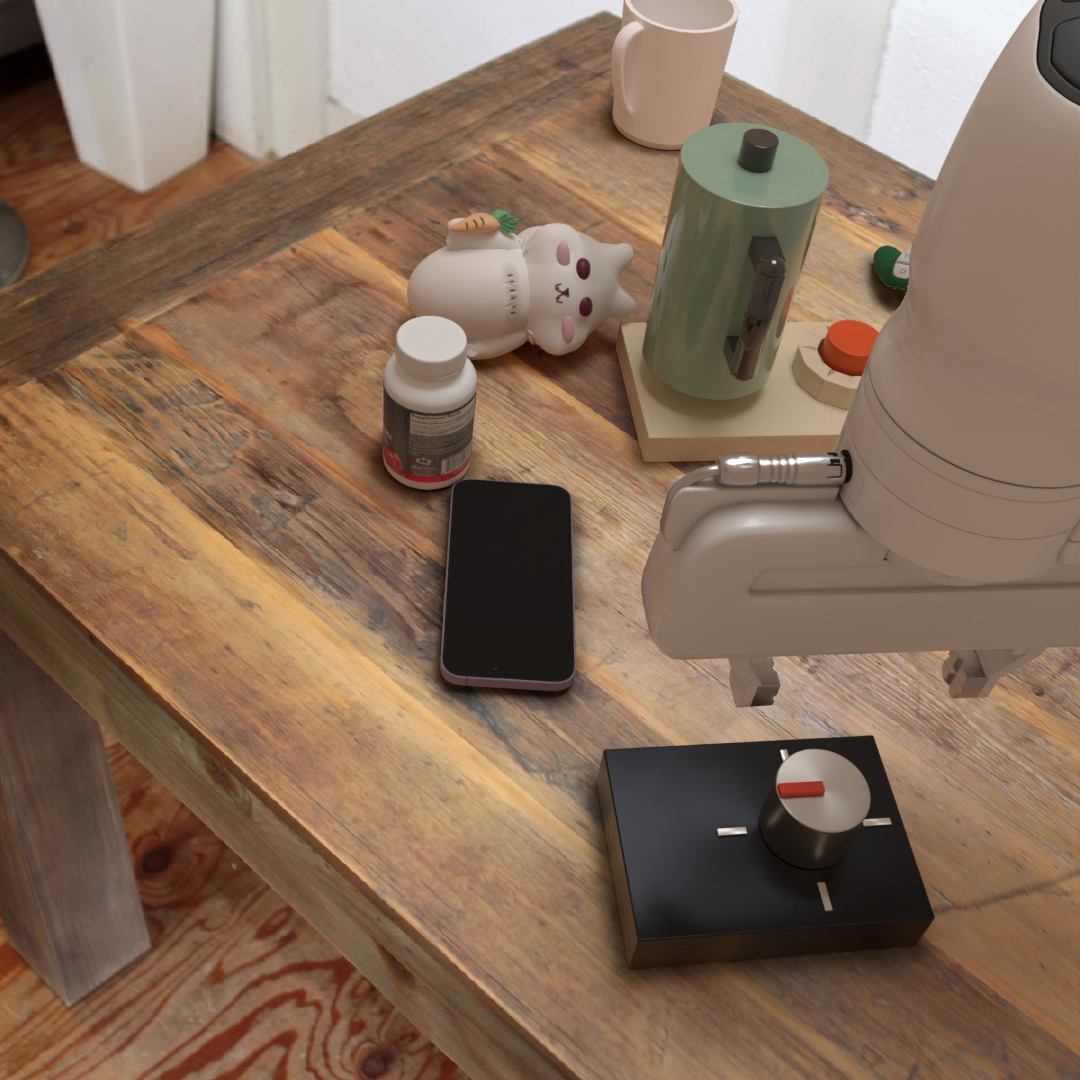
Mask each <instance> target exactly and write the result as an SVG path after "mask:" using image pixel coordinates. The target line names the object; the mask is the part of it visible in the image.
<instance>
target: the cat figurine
mask: <svg viewBox="0 0 1080 1080" xmlns="http://www.w3.org/2000/svg"><path fill="white" fill-rule="evenodd" d="M516 217H517V215H511V212H508V211H507V210H503V209H494V210H493V211H492V212H491V213H490V214H489V213H487V212H486V213H485V212H478V213H477V212H476V213H473V214H471V215H469V216H467V217H456V218H453V219H451V220H449V221H448V222H447V224H446V230H447V235H446V238H445V239H446V240H445V244H446V246H443V247H441V248H439V249H437V250H435V251H433V252H432V253H430V254H429V255H427V256H426V257H425V258H424V259H422V260H421V261H420V262H419V263H418V264H417V266H416V267H415V268H414V270H413V271H412V273H411V275H410V277H409V279H408V283H407V286H406V297H407V303H408V305H409V308H410V310H411V312H412V313H413V315H414V316H415V318H417V317H422V316H438V317H442V318H446V319H449V320H451V321H453V322H455V323H456V324H457V325H459V326H460V327H461V328H462V329H463V331H464V332H465V335H466V338H467V358H468V359H469V360H470V361H481V360H491V359H495V358H497V357H501V356H504V355H506V354H508V353H510V352H513V351H514V350H516V349H518V348H519V347H521V346H523V345H524V344H525V343H526V342H528V343H531V345H532V346H534V345H535V346H539V347H540V348H541V349H542V350H543V351H545V352H546V353H548V354H550V355H553V356H563V355H566V354H569V353H572V352H574V351H576V350H578V349H579V348H580V347H581V346H582V345H583V344H584V343H585V341H586V340H587V338H588V336H589V335H590V334H592V333H593V332H594V331H595V330H596V329H598V328H599V326H600V325H601V324H603V323H604V322H605V321H606V320H608V319H611V318H618V319H620V318H622V319H624V318H628V317H631V316H632V315H633V314H634V313H635V311H636V308H637V304H636V301H635V300H634V298H633V297H632V296H631V295H630V294H628V293H627V292H626V291H625V290H623V288H622V287H621V286H620V284H619V280H620V278H621V275H622V274H623V273H624V271H625V270H626V269H627V268H628V267H629V265H631V263H632V261H633V259H634V255H635V252H634V249H633V247H632V246H631V245H630V244H629V243H627V242H621V243H605V242H600V241H598V240H596V239H595V238H594V237H592V236H590V235H588V234H587V233H583V232H582V231H579V230H576V229H575V228H574V227H572V226H571V225H569V224H567V223H562V222H554V223H553V222H552V223H546V224H544V225H537V226H531V227H528V228H525V229H524V230H522V231H521V232H519V233H518V234H516V233H517V226H518V223H519V220H520V219H519V218H516Z"/></svg>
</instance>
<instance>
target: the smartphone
mask: <svg viewBox="0 0 1080 1080" xmlns="http://www.w3.org/2000/svg"><path fill="white" fill-rule="evenodd" d="M449 505H450V506H449V518H448V519H449V520H448V534H447V536H448V537H447V550H446V551H447V552H446V566H445V567H446V568H445V581H444V582H445V583H444V593H443V602H442V605H443V606H442V628H441V629H442V631H441V643H440V644H441V647H440V659H439V669H440V673H441V676H442V677H443V679H444V680H446V681H447V682H448V683H450V684H453V685H456V686H462V687H463V686H466V687H480V688H495V689H515V690H530V691H543V692H544V691H546V692H559V691H564V690H567V689H568V688H569V687H570V686H571V685H572V684H573V683H574V680H575V676H576V670H577V641H576V601H575V569H574V568H575V566H574V529H573V528H574V524H573V521H574V520H573V498H572V494H571V493H570V491H568V489H566V488H565V487H563V486H560V485H557V484H551V483H535V482H525V481H524V482H523V481H522V482H521V481H507V480H495V479H481V478H463V479H459V480H458V481H457V482H455V483H453V485H452V488H451V491H450V504H449Z"/></svg>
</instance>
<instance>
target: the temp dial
mask: <svg viewBox="0 0 1080 1080" xmlns="http://www.w3.org/2000/svg"><path fill="white" fill-rule="evenodd" d="M870 801H871V797H870V791H869V787H868V784H867V782H866V780H865V778H864V776H863V775H862V773H861V772H860V771H859V770H858V768H857V767H856V766H855V765H853V764H852V763H851V762H850V761H849V760H847V759H846V758H844V757H842V756H841V755H838V754H836V753H834V752H831V751H827V750H822V749H806V750H801V751H798V752H796V753H794V754H792V755H790V756H789V757H787V758H786V759H785V760H784V761H783V762H782V764H781V765H780V767H779V769H778V771H777V773H776V776H775V778H774V780H773V783H772V785H771V787H770V790H769V792H768V794H767V797H766V799H765V801H764V803H763V806H762V808H761V811H760V818H759V822H760V829H761V832H762V835H763V837H764V839H765V841H766V843H767V844H768V846H769V847H770V848H771V850H772V851H773V852H774V853H775V854H776V855H778V856H779V857H780V858H781V859H783V860H785V861H786V862H788V863H790V864H792V865H795V866H798V867H801V868H807V869H819V868H825V867H828V866H831V865H833V864H835V863H836V862H838V861H839V860H840V859H841V858H842V857H843V856H844V855H845V853H846V852H847V850H848V848H849V846H850V844H851V843H852V841H853V839H854V837H855V835H856V834H857V832H858V830H859V828H860V826H861V824H862V823H863V821H864V819H865V817H866V815H867V814H868V811H869V808H870Z"/></svg>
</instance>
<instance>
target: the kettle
mask: <svg viewBox="0 0 1080 1080" xmlns="http://www.w3.org/2000/svg"><path fill="white" fill-rule="evenodd" d="M829 183H830V171H829V168H828V165H827V163H826V161H825V159H824V158H823V157H822V155H821V154H820V153H819V152H818V151H817V150H816V149H815V148H814V147H813V146H811V145H810V144H809V143H807V142H805V141H804V140H802V138H799V137H797V136H795V135H793V134H791V133H788V132H787V131H784V130H781V129H778V128H775V127H771V126H767V125H762V124H759V123H749V122H723V123H717V124H712V125H711V124H710V126H708V127H705V128H702V129H700V130H698V131H696V132H695V133H693V134H692V135H690V136H689V137H688V138H687V139H686V141H685V142H684V144H683V146H682V148H681V149H680V152H679V157H678V162H677V167H676V172H675V176H674V182H673V186H672V192H671V196H670V197H671V198H670V200H669V201H670V202H669V207H668V212H667V215H666V222H665V227H664V232H663V236H662V242H661V246H660V247H661V248H660V251H659V255H658V256H659V257H658V260H657V261H658V262H657V268H656V272H655V276H654V282H653V287H652V293H651V297H650V302H649V307H648V312H647V316H646V322H645V323H646V326H645V331H644V336H643V341H642V353H643V357H644V359H645V362H646V364H647V365H648V367H649V369H650V370H651V371H652V372H653V373H654V374H655V375H656V376H657V377H658V378H659V379H660V380H661V381H662V382H664V383H665V384H667V385H668V386H670V387H672V388H674V389H676V390H678V391H680V392H682V393H685V394H688V395H691V396H694V397H699V398H703V399H711V400H729V399H736V398H740V397H744V396H747V395H749V394H752V393H753V392H755V391H757V390H758V389H760V388H761V387H762V386H763V385H764V384H765V383H766V382H767V381H768V379H769V378H770V376H771V373H772V370H773V367H774V363H775V360H776V357H777V353H778V350H779V347H780V343H781V340H782V337H783V333H784V330H785V327H786V323H787V322H788V320H789V316H790V313H791V310H792V306H793V303H794V299H795V297H796V293H797V291H798V286H799V284H800V280H801V278H802V277H801V276H802V273H803V270H804V266H805V263H806V259H807V257H808V253H809V250H810V246H811V244H812V240H813V236H814V233H815V230H816V227H817V223H818V219H819V217H820V213H821V209H822V206H823V203H824V199H825V196H826V193H827V190H828V186H829Z"/></svg>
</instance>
